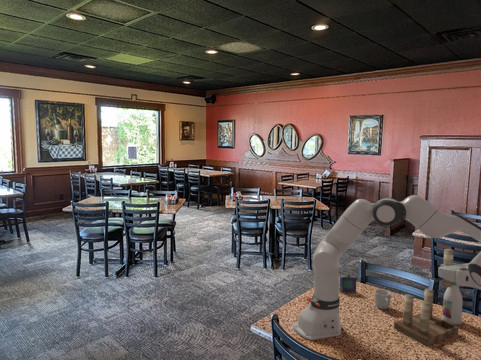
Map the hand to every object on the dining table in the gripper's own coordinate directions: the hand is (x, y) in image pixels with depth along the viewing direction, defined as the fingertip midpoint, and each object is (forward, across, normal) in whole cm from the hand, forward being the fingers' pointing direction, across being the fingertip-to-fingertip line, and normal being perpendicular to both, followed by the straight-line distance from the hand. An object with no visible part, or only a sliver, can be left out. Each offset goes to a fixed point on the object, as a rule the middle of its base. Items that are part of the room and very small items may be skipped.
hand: (446, 265), depth 153 cm
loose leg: (-1, 0, +9) cm, 9 cm away
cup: (+26, +11, +30) cm, 41 cm away
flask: (+49, +16, +30) cm, 60 cm away
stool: (+2, +8, +30) cm, 31 cm away
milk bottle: (+5, -11, +30) cm, 33 cm away
